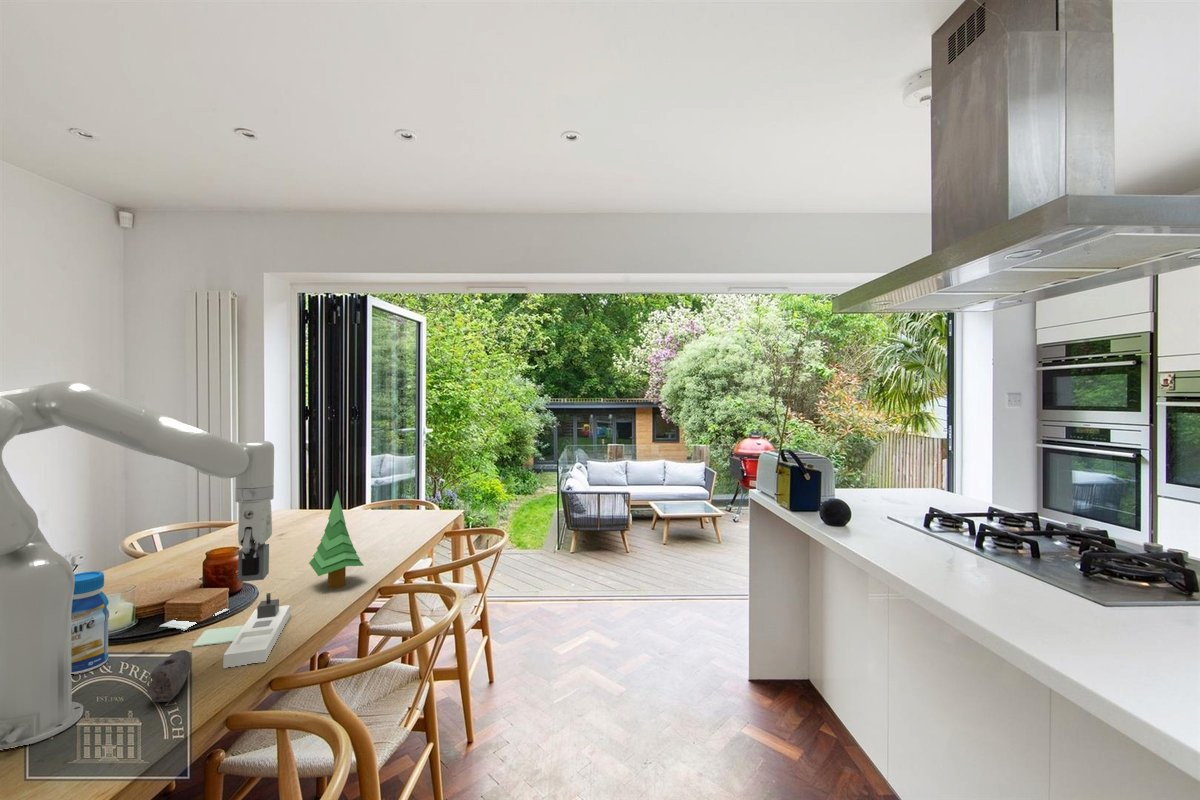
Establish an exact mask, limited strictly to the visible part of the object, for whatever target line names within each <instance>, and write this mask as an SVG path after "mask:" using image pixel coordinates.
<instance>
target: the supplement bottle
mask: <svg viewBox="0 0 1200 800" xmlns="http://www.w3.org/2000/svg"><path fill="white" fill-rule="evenodd" d="M74 577H75V585H74V593H73V600H72V611H71V674H74V675H79V673H80V674H84V673H87V672H90V671H93V670H95V669H97V668H99V667H102V666H103V665H105V664H106V663H107V661H108V660H109V618H110V610H109V609H108V608H107V607H108V605H109V599H108V596H107V595H106V594H105V592H103V591H102V589H104V585H105V574H104V572H103V571H96V570H93V571H84V572H79V573H74Z"/></svg>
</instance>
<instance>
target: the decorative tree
mask: <svg viewBox="0 0 1200 800" xmlns="http://www.w3.org/2000/svg"><path fill="white" fill-rule="evenodd" d="M346 525H347V524H346V519H345V516H344V511H343V507H342V504H341V499H340V496H339V492H338V490H336V493H335V496H334V499H333V502H332V506H331V508H330V513H329V515H328V522H327V523H326V526H325V529H324V533H323V535H322V537H321V539H320V543H319V544H318V546H317V547H316V551H315V552H314V554H313V555H312V557H313V558H312V559H311V560H310V561H309V562H308V564H309V565H310V566H311V568H312V569H313V570H314V572H315V573H316V575H317V576H318V577H321V576H323V575H326V574H327V587H328V588H330V589H337V588H339V587H340V588H342V587H344V586H345V585H346V583H347V582H346V579H347V578H346V575H347V574H346V572H347V571H346V570H347V569H346V568H347V567H364V563H362V560H361V558H360V557H359V555H358V554H357V553H358V552H357V551H356V549H355V547H354V544H353V542H352V540H351V537H350V535H349V531H348V528H347V526H346ZM340 588H339V589H340Z"/></svg>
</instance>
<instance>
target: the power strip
mask: <svg viewBox="0 0 1200 800" xmlns="http://www.w3.org/2000/svg"><path fill="white" fill-rule="evenodd" d="M271 596H272V595H271V593H270V592H268V593H266V597H265V598H266V599H265V600H261V601H260V603H258V605H257V607H256V608H255V609H254V611H253V612H252V614H251V615H250V616H249V618H248V619H247V621H246V622H245V623H244V624H243V625H244V626H243V628H242V629H241V631H240V632H239V633H238V635H237V636H236V638H235V639H234V641H233V642H232V643H231V644H229V646H228V648H227V649H226V650H225V652H224V654H223V655H222V656H223V662H222V663H223V665H222V666H223V667H222V668H224V669H229V668H228V667H231V668H236V667H235V666H238V667H242V666H241V665H245V666H248V665H247V664H251V663H258V662H265V661H266V660H267V661H268V659H269V657H270V655H271V653H272V652H271V650H272V648H273V646H274V645H275V646H276V644H277V642H278V640H279V638H280V636H281V634H282V632H283V631H282V630H284V629H285V627H286V625H285V624H288V623H287V622H288V621H289V619H290V617H291V605H290V604H288V605H280V599H279V598H276V599H271V598H272V597H271ZM284 626H285V627H284ZM283 628H284V629H283ZM280 633H281V634H280ZM279 635H280V636H279ZM278 637H279V638H278ZM277 639H278V640H277ZM276 641H277V642H276ZM275 643H276V644H275ZM275 646H274V647H275ZM273 649H274V648H273ZM272 651H273V650H272ZM270 652H271V653H270ZM269 654H270V655H269ZM268 656H269V657H268ZM267 658H268V659H267ZM267 661H266V662H267Z"/></svg>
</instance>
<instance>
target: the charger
mask: <svg viewBox="0 0 1200 800" xmlns="http://www.w3.org/2000/svg"><path fill="white" fill-rule="evenodd" d="M251 548H253V550H254V547H251ZM242 551H243V550H242V548H241V549H240V550H238V552H237V553H238V557H237V558H238V560H237V563H238V564H237V566H238V568H237V571H238V572H237V578H238V579H237V582H238V583H241V582H252V581H253V582H254V581H264V580H265V579H266V578H267V575H269V571H270V568H269V567H270V543H265V544H262V545H258V554H257V557H259V573H258V574H257V575H250V576H242V553H243V552H242Z"/></svg>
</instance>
